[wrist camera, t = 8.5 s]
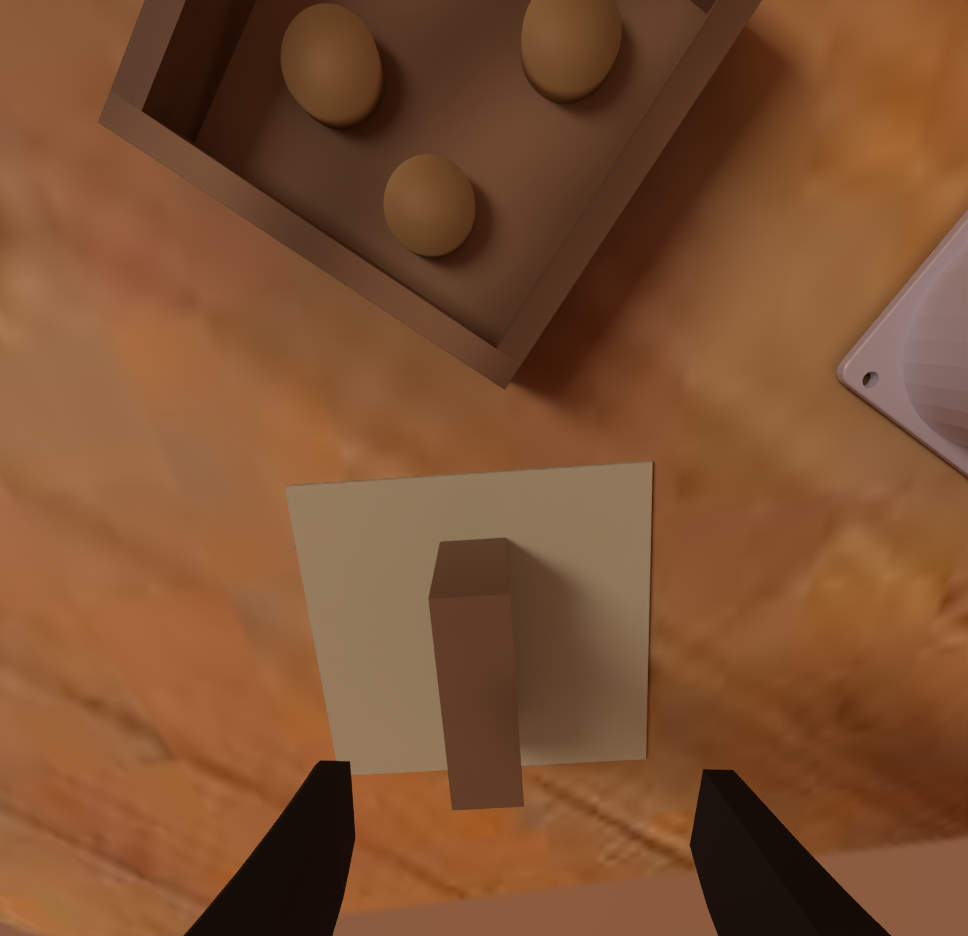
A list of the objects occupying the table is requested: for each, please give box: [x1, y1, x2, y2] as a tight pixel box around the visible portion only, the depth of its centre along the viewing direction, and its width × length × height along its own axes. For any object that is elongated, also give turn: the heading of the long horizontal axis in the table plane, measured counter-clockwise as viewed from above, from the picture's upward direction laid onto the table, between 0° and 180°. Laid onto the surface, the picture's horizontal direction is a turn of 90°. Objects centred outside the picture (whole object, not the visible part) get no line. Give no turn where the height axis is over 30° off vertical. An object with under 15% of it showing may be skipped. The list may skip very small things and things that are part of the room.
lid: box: [285, 461, 653, 810], centre depth 18 cm, size 13×13×5 cm
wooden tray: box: [99, 0, 762, 389], centre depth 14 cm, size 12×12×3 cm
